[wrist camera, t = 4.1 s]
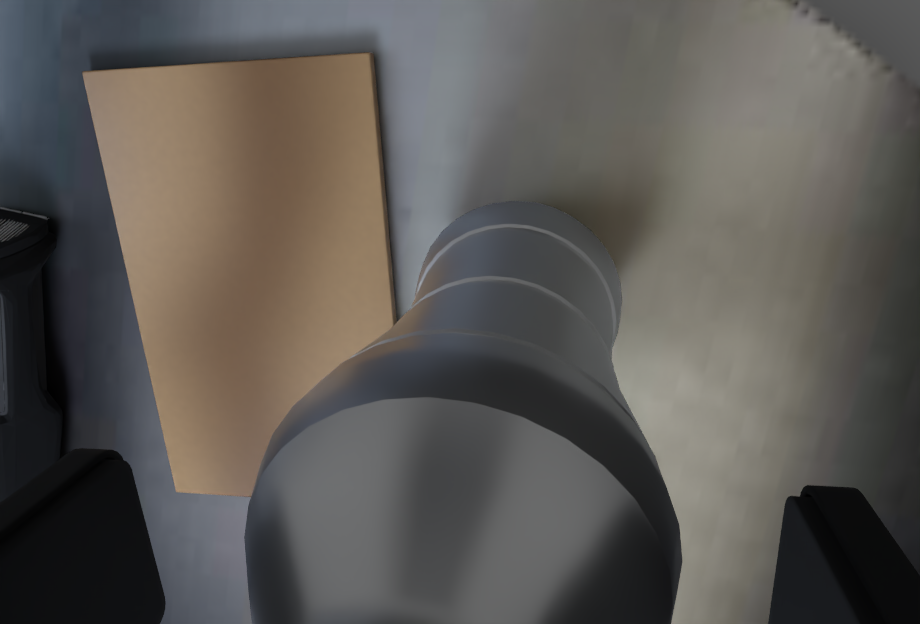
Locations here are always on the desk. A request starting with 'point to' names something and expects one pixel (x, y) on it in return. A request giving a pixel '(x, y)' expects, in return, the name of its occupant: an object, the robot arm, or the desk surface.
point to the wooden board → (245, 241)
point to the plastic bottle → (472, 453)
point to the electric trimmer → (24, 354)
